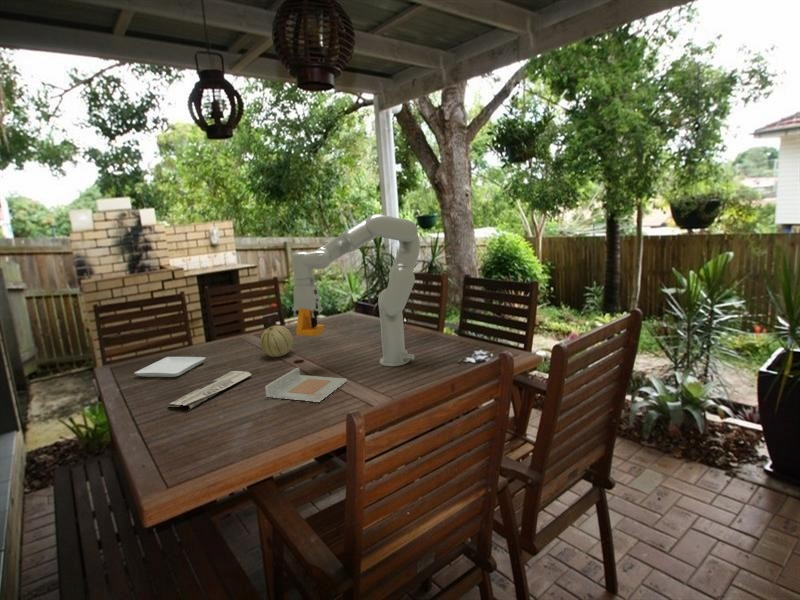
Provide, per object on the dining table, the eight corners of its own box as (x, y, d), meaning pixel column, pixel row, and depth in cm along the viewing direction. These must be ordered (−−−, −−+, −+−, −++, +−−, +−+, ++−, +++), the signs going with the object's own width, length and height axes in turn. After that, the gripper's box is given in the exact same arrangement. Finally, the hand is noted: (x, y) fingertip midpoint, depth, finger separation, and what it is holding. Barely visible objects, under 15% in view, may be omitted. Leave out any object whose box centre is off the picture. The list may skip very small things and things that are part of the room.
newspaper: (230, 375, 192) (229, 367, 192) (255, 377, 188) (254, 369, 188) (164, 411, 159) (162, 401, 159) (192, 413, 156) (191, 404, 155)
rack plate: (347, 382, 174) (346, 371, 173) (319, 403, 155) (318, 391, 155) (298, 378, 182) (296, 367, 181) (266, 398, 164) (265, 386, 163)
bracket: (312, 338, 181) (311, 308, 178) (296, 336, 183) (295, 307, 180) (325, 331, 191) (324, 303, 188) (310, 329, 193) (308, 302, 190)
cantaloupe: (298, 351, 220) (295, 320, 217) (288, 360, 206) (284, 328, 203) (269, 352, 222) (265, 322, 219) (257, 361, 207) (252, 329, 205)
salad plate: (177, 380, 191) (176, 372, 190) (134, 379, 195) (132, 372, 194) (208, 363, 211) (207, 356, 210) (168, 363, 215) (166, 356, 215)
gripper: (327, 280, 183) (331, 324, 186) (292, 281, 190) (297, 323, 193) (317, 283, 176) (322, 329, 180) (281, 284, 183) (286, 328, 186)
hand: (309, 326), depth 186 cm, fingers closed on bracket, 4 cm apart
